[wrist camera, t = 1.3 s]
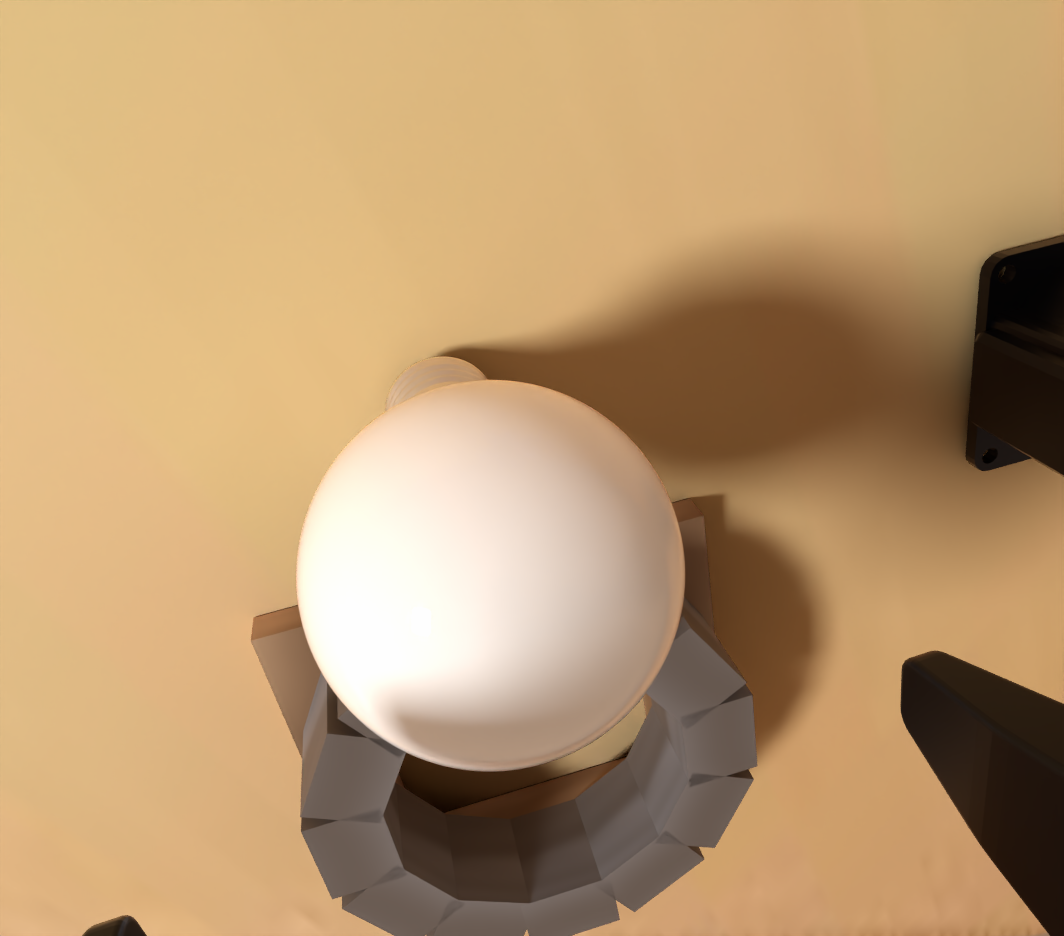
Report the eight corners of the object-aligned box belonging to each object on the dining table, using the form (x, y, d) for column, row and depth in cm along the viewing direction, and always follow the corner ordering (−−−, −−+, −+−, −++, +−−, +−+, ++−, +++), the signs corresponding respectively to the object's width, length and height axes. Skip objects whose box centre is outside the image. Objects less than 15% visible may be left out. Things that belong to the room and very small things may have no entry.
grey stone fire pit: (687, 474, 24) (750, 548, 20) (717, 771, 29) (770, 870, 26) (243, 594, 22) (228, 696, 19) (365, 881, 28) (371, 1001, 24)
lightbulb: (450, 213, 19) (577, 385, 9) (609, 403, 22) (828, 680, 12) (248, 394, 20) (176, 720, 10) (428, 553, 23) (502, 921, 13)
